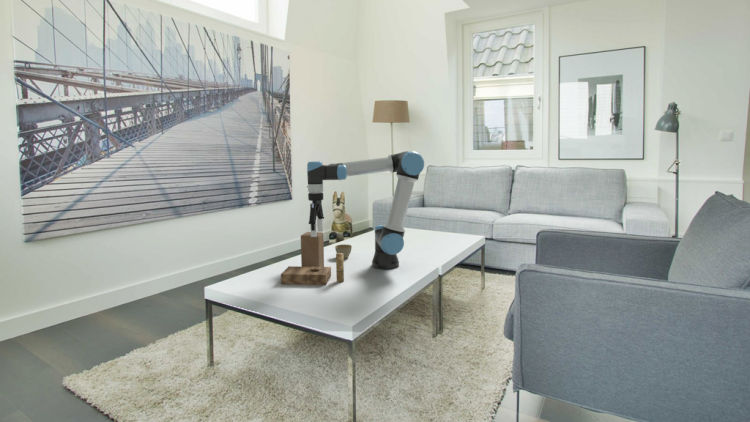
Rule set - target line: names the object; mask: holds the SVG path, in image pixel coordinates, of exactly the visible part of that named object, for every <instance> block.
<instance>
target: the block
mask: <svg viewBox="0 0 750 422" xmlns="http://www.w3.org/2000/svg"><path fill="white" fill-rule="evenodd" d="M324 242H325V241H324V232H318V231H317V237H311V231H306V232H304V233H303V234H301V235H300V254H301V255H300V261H301V267H325V248H324V247H325V246H324V244H325V243H324Z"/></svg>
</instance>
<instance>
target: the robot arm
mask: <svg viewBox="0 0 750 422" xmlns="http://www.w3.org/2000/svg"><path fill="white" fill-rule="evenodd" d="M306 165H307V166H306V169H307V170H306V173H307V186H306V188H307V192H308V193H307V196H308V197H307V199H308V201H310V202H311V203H310V204H309V206H310V207H309V208H310V209H309V219H308V221H309V222H308V225H310V232H311V237H317V232H322V233H324V226H323V225H324V224H323V223H324V222H323V221H324V219H325V216H324V210H323V203H322V201H323V200H324V193H323V192H324V181H343V180H346V179H347V177H352V176H360V175H367V174H370V175H371V174H377V173H384V172H390V173H391V174H392V173H396V174H395V175H396V177H397V180H396V181H397V182H396V186H395V190H394V194H393V196H392V197H393V198H392V202H391V206H390V210H389V214H388V218H387V221H386V223H385V224H380V225H379V224H378V225H376V226H375V227H374V255H373V257H372V262H371V265H372V267H373V268H374V269H375V268H376V269H379V270H391V269H396V268H399V266H400V261H399V257H398V254H399V253H400V252H401V251H402V250H403V249H404V246H405V241H404V237H405V232H406V230H405V228H404V224H405V220H406V217H407V213H408V209H409V206H410V201H411V196H412V194H413V189H414V186H415V183H416V182H418V180H419V178H420V174H421V172H423V170H424V167H425V160H424V158H423V156H422V155H421V154H420V153H418V152H416V151H411V150H409V151H403V152H399V153H394V154H388V156H385V157H378V158H372V159H362V160H353V161H347V162H338V163H329V164H328V165H327V164H325V165H324V164H323V161H320V160H319V161H308V162H307V164H306Z"/></svg>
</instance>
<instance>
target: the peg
mask: <svg viewBox="0 0 750 422" xmlns="http://www.w3.org/2000/svg"><path fill="white" fill-rule="evenodd" d="M335 259H336V260H335V265H336V266H335V267H336V268H335V269H336V271H335V273H336V282H337V283H344V281H345V275H344V274H345V269H344V267H345V264H344V262H345V261H344V260H345V259H344V258H343V253H337V252H336V254H335Z"/></svg>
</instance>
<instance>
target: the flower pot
mask: <svg viewBox="0 0 750 422" xmlns="http://www.w3.org/2000/svg"><path fill="white" fill-rule="evenodd" d="M334 248H335V249H334V250H335V253H336V254H337V253H343V258H344V260H346V259H348V258H349V257H350V256H351V255H350V254H351V252H352V250H353V249H352V248H353V247H352V245H351V244H345V243H344V244H338V245H335V246H334Z"/></svg>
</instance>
